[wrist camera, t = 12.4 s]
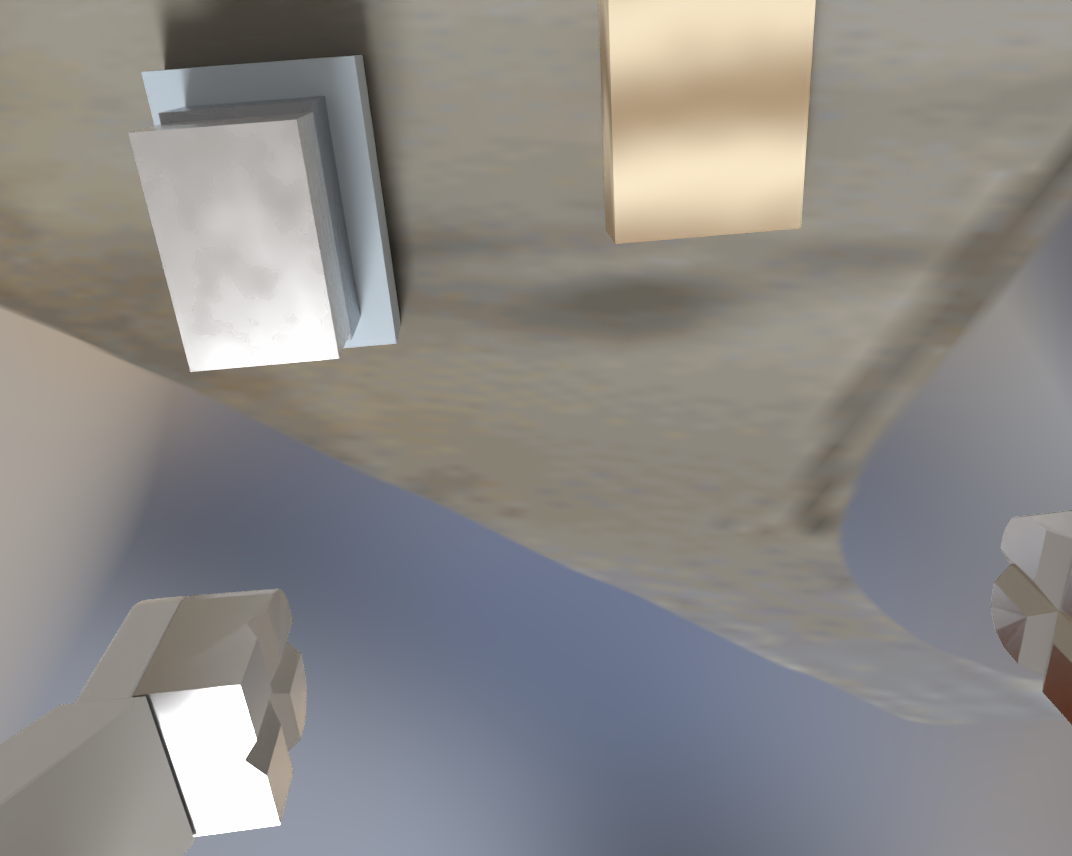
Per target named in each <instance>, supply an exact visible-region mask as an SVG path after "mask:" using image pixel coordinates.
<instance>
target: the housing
mask: <svg viewBox="0 0 1072 856" xmlns="http://www.w3.org/2000/svg"><path fill="white" fill-rule="evenodd" d="M158 114H159V119H160V123H161V124H158V125H155V126H151V127H148V128H144V129H140V130H137V131H133V132H130V133H129V137H130V141H131V145H132V149H133V153H134V157H135V160H136V164H137V168H138V172H139V176H140V180H141V183H142V187H143V191H144V195H145V199H146V203H147V206H148V210H149V214H150V218H151V222H152V226H153V229H154V233H155V237H156V241H157V245H158V249H159V253H160V256H161V260H162V264H163V268H164V272H165V276H166V279H167V283H168V287H169V291H170V295H171V299H172V302H173V306H174V310H175V314H176V318H177V322H178V325H179V329H180V333H181V337H182V341H183V345H184V349H185V352H186V356H187V360H188V364H189V368H190V372H193V371H204V370H216V369H227V368H238V367H249V366H260V365H272V364H283V363H294V362H305V361H317V360H328V359H339V358H340V355H341V353H342V350H343V348H344V345H345V343H346V341H347V340H352V338H353V335H354V333H355V330H356V328H357V325H358V323H359V320H360V318H361V314H360V308H359V302H358V296H357V290H356V283H355V277H354V271H353V265H352V259H351V253H350V247H349V241H348V235H347V228H346V222H345V216H344V210H343V204H342V198H341V192H340V186H339V179H338V173H337V167H336V161H335V155H334V149H333V143H332V137H331V131H330V124H329V118H328V112H327V106H326V100H325V96H314V97H301V98H289V99H276V100H263V101H250V102H237V103H225V104H212V105H199V106H186V107H181V108H177V109H173V110H169V111H165V112H161V113H158Z"/></svg>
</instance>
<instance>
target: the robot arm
mask: <svg viewBox="0 0 1072 856" xmlns="http://www.w3.org/2000/svg"><path fill="white" fill-rule="evenodd" d="M1001 550H1002V552H1003V553H1004V555H1005V556H1006V558H1007V559H1008V561H1009V562H1010V565H1009V566H1008V567H1007V568H1006V570H1005V571H1004V572H1003V573H1002V574H1001V575H1000V576H999V577H998V578H997V580H996V581H995V582H994V586H993V594H992V600H991V612H992V617H993V622H994V626H995V631H996V633H997V635H998V637H999V639H1000V641H1001V643H1002V645H1003V647H1004V648H1005V649H1006V651H1007V652H1008V653H1009V654H1010V655H1011V657H1012V658H1013V659H1014V660H1015V661H1016V663H1017V664H1019V665H1022V666H1023V667H1026V668H1028V669H1030V670H1032V671H1034V672H1036V673H1038V674H1040V675H1042V676H1044V678H1043V691H1042V692H1043V693H1044V694H1045V696H1046V697H1047V698H1048V699H1049V700H1050V701H1051V702H1052V703H1053V705H1054V706H1055V707H1056V708H1057V709H1058V710H1059V711H1060V712H1061V714H1062V715H1063V716H1064V717H1065V718H1066V719H1067V720H1068V721H1069V722H1070V724H1071V725H1072V510H1069V511H1061V512H1052V513H1044V514H1036V515H1027V516H1019V517H1013V518H1012V519H1011V521H1010V522H1009V524H1008V525H1007V527H1006V528H1005V530H1004V535H1003V540H1002V544H1001ZM292 622H293V619H292V615H291V612H290V608H289V605H288V601H287V597H286V595H285V594H284V593H283V592H282V591H281V590H280V589H270V590H256V591H244V592H231V593H220V594H219V593H218V594H206V595H193V596H189V597H185V596H180V597H170V598H160V599H152V600H143V601H141V602H139V603H137V604H135V605H134V606H133V607H132V608H131V610H130V612H129V613H128V615H127V616H126V618H125V620H124V621H123V623H122V625H121V626H120V628H119V630H118V632H117V633H116V635H115V636H114V638H113V640H112V641H111V643H110V645H109V646H108V648H107V650H106V651H105V653H104V655H103V656H102V658H101V660H100V661H99V663H98V665H97V666H96V668H95V670H94V671H93V673H92V675H91V676H90V678H89V680H88V681H87V683H86V684H85V687H84V688H83V690H82V691H81V693H80V694H79V696H78V698H77V699H76V701H75V703H74V704H65V705H58V706H57V707H55V708H54V709H52V710H51V711H49V712H48V713H46V714H45V715H43V716H42V717H40V718H39V719H37V720H36V721H35V722H33V723H31V724H30V725H29V726H27V727H26V728H24V729H23V730H21V731H20V732H18V733H17V734H15V735H14V736H12V737H11V738H9V739H8V740H6V741H5V742H3V743H2V744H0V856H183V855H184V853H185V852H186V851H187V850H188V849H189V848H190V847H191V845H192V844H193V843H194V842H195V839H194V837H195V836H203V835H210V834H217V833H224V832H232V831H239V830H246V829H253V828H261V827H268V826H275V825H280V823H281V818H282V815H283V810H284V806H285V802H286V798H287V794H288V790H289V786H290V782H291V778H292V774H293V771H292V766H291V762H290V759H289V754H288V751H289V750H290V749H291V748H292V747H293V746H294V745H296V744H297V743H298V742H299V741H300V739H301V737H302V732H303V728H304V723H305V718H306V698H307V697H306V696H307V689H306V680H305V670H304V666H303V662H302V657H301V653H300V652H299V651H298V650H297V649H295V648H294V647H293V646H291V645H290V644H289V643H288V642H287V639H288V635H289V632H290V628H291V625H292Z"/></svg>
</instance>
